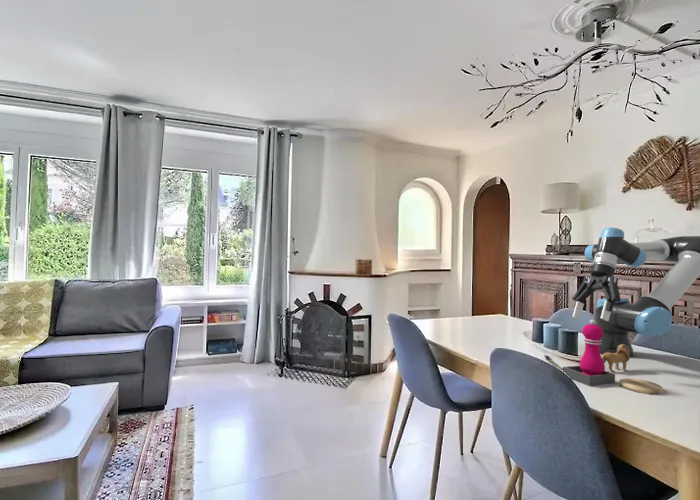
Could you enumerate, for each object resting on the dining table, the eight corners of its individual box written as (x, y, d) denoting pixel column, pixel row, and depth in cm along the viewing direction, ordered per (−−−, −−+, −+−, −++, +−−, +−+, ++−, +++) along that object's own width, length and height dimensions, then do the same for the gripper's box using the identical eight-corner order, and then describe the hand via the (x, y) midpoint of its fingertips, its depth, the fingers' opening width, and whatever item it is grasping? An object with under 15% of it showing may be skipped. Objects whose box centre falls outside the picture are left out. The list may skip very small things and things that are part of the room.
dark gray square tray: (586, 373, 138) (586, 364, 138) (614, 383, 128) (615, 374, 128) (562, 375, 135) (562, 366, 135) (589, 386, 124) (589, 376, 124)
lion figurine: (618, 366, 147) (619, 342, 147) (633, 370, 143) (634, 345, 143) (594, 370, 141) (594, 346, 141) (609, 375, 136) (610, 349, 136)
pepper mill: (574, 378, 132) (575, 318, 132) (586, 375, 136) (587, 317, 136) (597, 384, 126) (598, 321, 126) (609, 381, 129) (610, 320, 130)
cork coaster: (636, 380, 131) (636, 377, 131) (671, 392, 120) (671, 388, 120) (611, 383, 127) (611, 379, 127) (645, 395, 117) (645, 391, 117)
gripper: (571, 265, 161) (557, 314, 157) (623, 259, 137) (608, 316, 133) (586, 272, 162) (573, 321, 158) (641, 267, 137) (627, 324, 133)
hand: (589, 319), depth 145 cm, fingers open, 13 cm apart
